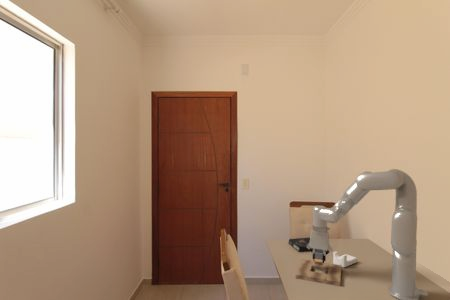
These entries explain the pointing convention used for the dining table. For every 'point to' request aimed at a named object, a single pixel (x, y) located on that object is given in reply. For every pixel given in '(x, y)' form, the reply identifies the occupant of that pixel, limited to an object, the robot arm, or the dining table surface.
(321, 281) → the plate
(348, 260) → the bracket
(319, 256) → the block
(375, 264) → the dining table surface
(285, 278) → the dining table surface
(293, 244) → the portable cd player
